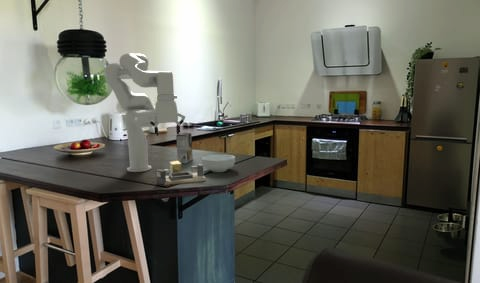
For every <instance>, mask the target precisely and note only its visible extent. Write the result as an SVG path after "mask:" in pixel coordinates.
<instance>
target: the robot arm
mask: <svg viewBox="0 0 480 283" xmlns="http://www.w3.org/2000/svg"><path fill="white" fill-rule="evenodd" d="M148 68H149V58H148V57H147V56H146V55H145V54H142V53H125V54H122V55H121V56H120V58H119V62H111V63H109V64H107V65H106V66H105V67H104V76H105V81H106V83H107V84H108V86H109V87H110V89H111V90H112V91H113V93H114V95H115V97H116V99H117V102H118V104H119V106H120V108H121V109H122V111H123V112H126V113H124V118H123V119H124V124H125V127H126V133H127V144H128V158H129V167H126V170H127V172H131V173H142V172H147V171H150V170H152V165H149V155H148V140H147V134H146V133H145V131H144V130H143V129H145V128H152V127H154V135H155V136H156V137H157V136H159V128H158V125H159V124H165V123H166V124H167V123H168V124H170V123H175V124H176V126H175V128H176V135H178V134H180V133H181V125H182V124H183V123H184V121H185V119H186V116H185V115H183V114H181V113H179V112H178V107H177V102H176V100H175V99H178V95H175V93H174V90H175V89H174V74H173V72H172V71H168V70H166V71H165V70H164V71H163V70H162V71H158V70H149V69H148ZM123 80H132V82H133V83H134V84H136V85H137V86H139V87H141V88H147V89H148V88H156V92H157V93H156V94H157V95H156V96H157V97H156V98H157V101H155V106H154V105H153V103H152V101H151V99H150V97H149V96H148V95H147V94H145V93H135V92H133V91H132V89H131V87H130V86H129V85H128V84H127V83H126V82H125V81H123ZM179 117H180V118H181V119H180V120H179Z"/></svg>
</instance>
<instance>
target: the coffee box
mask: <svg viewBox="0 0 480 283" xmlns="http://www.w3.org/2000/svg"><path fill="white" fill-rule="evenodd" d="M175 138H176V152H177V155H176V156H177V161H179V162H180V163H181V164H182V163H183V164H184V163H186V164H187V163H190V162H191V161H192V160H194V157H193V155H194V154H193V140H192V138H193V137H192V132H179V134H176V135H175Z"/></svg>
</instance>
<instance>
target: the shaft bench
mask: <svg viewBox="0 0 480 283" xmlns="http://www.w3.org/2000/svg"><path fill="white" fill-rule="evenodd" d="M190 169H191V170H190V171H191V172H190V171H182V172H180V173H170V168H169V169H168V168H164V169H161V168H160V169H159V168H158V169H155V178H156V184H157V185H161V184H162V185H161V186H169V185H170V184H172V185H178V184H188V183H194V182H202V181H203V182H204V181H206V180H207V178H206V176H204V165H203V163H197V164H196V165H191V167H190ZM163 184H164V185H163Z"/></svg>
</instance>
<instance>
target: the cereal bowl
mask: <svg viewBox="0 0 480 283" xmlns="http://www.w3.org/2000/svg"><path fill="white" fill-rule="evenodd" d="M201 161H202V162H201V163H202V165H203V168H205V169H207V170H209V171H211V172H213V173H224V172H226V171H228V170H229V169H232V167H233V166H234V165H235V163H236V156H235V155H232V154H211V155H206V156H202V159H201Z"/></svg>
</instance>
